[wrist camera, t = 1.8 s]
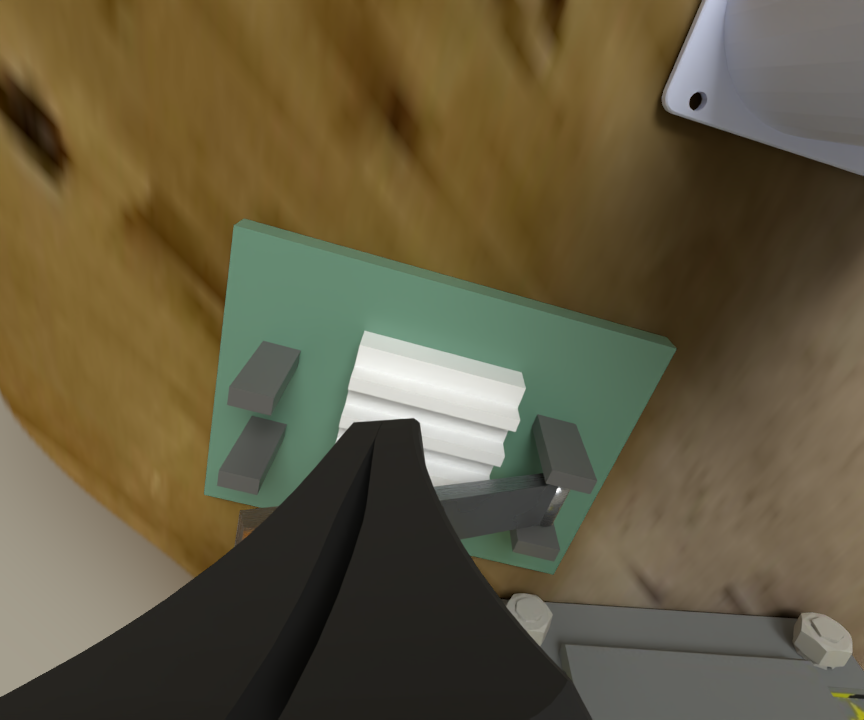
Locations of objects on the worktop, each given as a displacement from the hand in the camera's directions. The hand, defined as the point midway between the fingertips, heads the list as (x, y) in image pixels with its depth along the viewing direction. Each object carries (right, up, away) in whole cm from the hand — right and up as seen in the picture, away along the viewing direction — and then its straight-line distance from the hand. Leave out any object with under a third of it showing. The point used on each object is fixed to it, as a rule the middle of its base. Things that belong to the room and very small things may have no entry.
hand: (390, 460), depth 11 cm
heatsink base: (0, 0, +11) cm, 11 cm away
